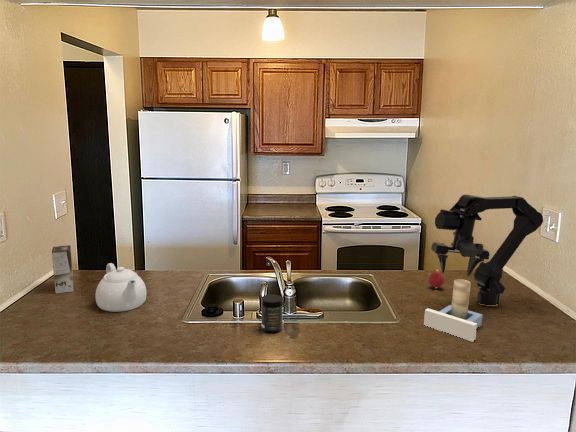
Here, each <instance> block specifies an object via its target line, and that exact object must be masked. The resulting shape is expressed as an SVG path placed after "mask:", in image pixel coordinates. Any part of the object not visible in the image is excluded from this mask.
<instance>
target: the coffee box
mask: <svg viewBox="0 0 576 432" xmlns="http://www.w3.org/2000/svg"><path fill="white" fill-rule="evenodd" d="M51 257H52V268H53V270H52V271H53V281H54V290H55V293H54V294H61V293H62V294H63V293H70V292H71V293H72V292H74V274H73V273H74V271H73V262H72V250H71V245H70V244H69V245H68V244H67V245H58V246H52V249H51Z"/></svg>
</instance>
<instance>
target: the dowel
mask: <svg viewBox="0 0 576 432" xmlns="http://www.w3.org/2000/svg"><path fill="white" fill-rule="evenodd" d="M471 283H472V282H471V281H469V280H466V279H462V278H459V279H458V278H457V279H454V280H453V287H452V288H453V289H452V298H451V305H452V306H451V316H455V317H458V318H461V319H464V320H467V314H468V310H469V303H470V295H471V294H470V293H471Z"/></svg>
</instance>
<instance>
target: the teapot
mask: <svg viewBox="0 0 576 432" xmlns="http://www.w3.org/2000/svg"><path fill="white" fill-rule="evenodd" d="M105 272H106V273H105V274H104V276H103V278H102V279H101V280H100V281H99V283H98V285H97V287H96V290H95V302H96V305H97V307H98V308H99V309H101V310H103V311H106V312H113V313H115V312H117V313H118V312H127V311H133V310H135V309H137V308H139V307H141V306H142V305H144V303H145V302H146V299H147V286H146V284H145V282H144V280H143V279H142V277H140V276H139V275H138V273H137V272H135V271H133V270H131V269H129V268H125V267H123V266H119V267H117V268H116V266H115V264H114V263H112V262H110V263H109V262H108V263H107V264H106V268H105Z"/></svg>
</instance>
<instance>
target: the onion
mask: <svg viewBox="0 0 576 432" xmlns="http://www.w3.org/2000/svg"><path fill="white" fill-rule="evenodd" d="M428 283H429V285H430V286H431V287H432V286H433V287H439V288H440V287H442V286H443V285H444V283H445V277H444V275H443V273H442V272H441V271H440V270H439V269H436V270H435V271H434V272H432V273H431V274H430V275H429V277H428ZM433 287H432V288H433Z"/></svg>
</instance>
